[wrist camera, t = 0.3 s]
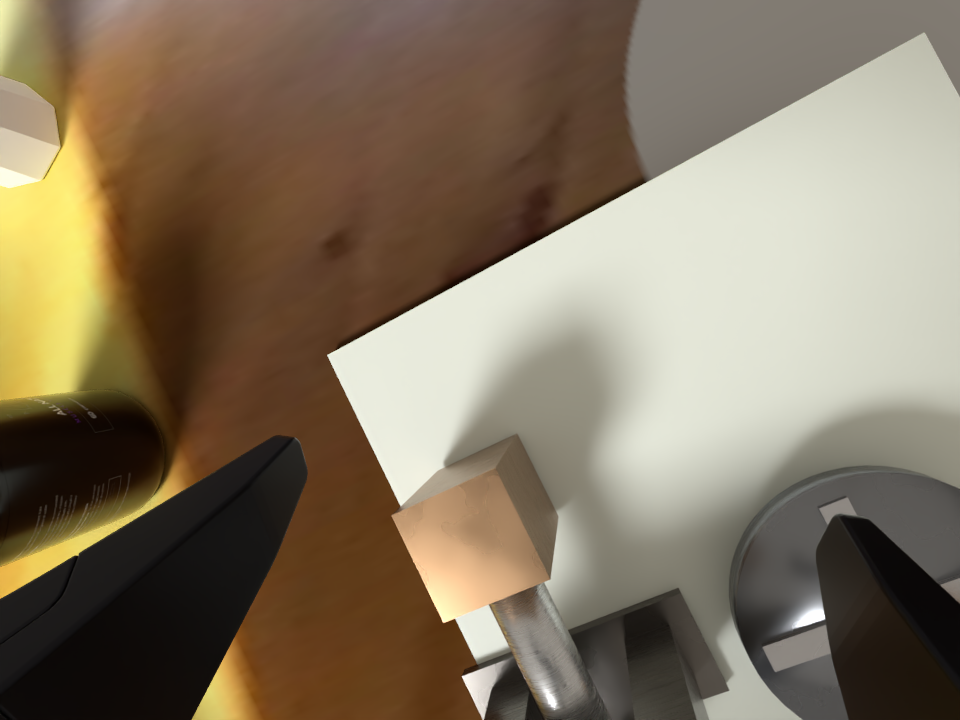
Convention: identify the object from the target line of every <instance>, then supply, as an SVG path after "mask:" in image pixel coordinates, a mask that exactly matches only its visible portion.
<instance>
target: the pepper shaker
mask: <svg viewBox="0 0 960 720" xmlns="http://www.w3.org/2000/svg"><path fill="white" fill-rule="evenodd" d="M60 148H61V145H60V139H59V133H58V126H57V120H56V113H55V108H54V107H53V106H52V105H51V104H50V103H48V102H47V101H46V100H45V99H43V98H42V97H41V96H40V95H39V94H37V93H36V92H35V91H34V90H32V89H31V88H30V87H29V86H27V85H26V84H24V83H21V82H18V81H15V80H12V79H9V78H6V77H3V76H0V185H1V186H4V187H7V188H11V187H15V186H20V185H24V184H28V183H33V182H37V181H41V180H43V179H44V177H45V175H46V173H47V171H48V170H49V168H50V166H51V164H52V162H53V161H54V159H55V157H56V155H57V153H58V152H59V150H60Z"/></svg>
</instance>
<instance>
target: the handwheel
mask: <svg viewBox="0 0 960 720" xmlns="http://www.w3.org/2000/svg"><path fill="white" fill-rule="evenodd" d="M837 513H843V514H850V515H858V516H863V517H866V518H868V519H869V520H871V521H872V522H873V523H874V524H875V525H876V526H877V527H879V528H880V529H881V530H882V531H883V532H884V533H885V534H886V535H887V536H888V537H889V538H890V539H891V540H892V541H894V542H895V543H896V544H897V545H898V546H899V547H900V548H901V549H902V550H903V551H904V552H905V553H906V554H908V555H909V556H910V557H911V558H912V559H913V560H914V561H915V562H916V563H917V564H918V565H919V566H920V567H921V568H923V569H924V570H925V571H926V572H927V573H928V574H929V575H930V576H931V577H932V578H933V579H934V580H935V581H937V582H938V583H939V584H940V585H941V586H942V587H943V588H944V589H945V590H946V591H947V592H948V593H949V594H951V595H952V596H953V597H954V598H955V599H956V600H957V601H958V602H959V603H960V489H959V488H957V487H955V486H952V485H950V484H948V483H945V482H943V481H940V480H938V479H935V478H933V477H930V476H928V475H925V474H922V473H918V472H914V471H911V470H907V469H902V468H895V467H888V466H869V465H864V466H852V467H843V468H839V469H834V470H829V471H825V472H822V473H819V474H816V475H813V476H810V477H808V478H806V479H804V480H802V481H799V482H797V483H795V484H793V485H791V486H790V487H788V488H787V489H785V490H784V491H782V492H781V493H779V494H778V495H776V496H775V497H774V498H773V499H772V500H770V501H769V502H768V503H767V504H766V505H765V506H764V507H763V508H762V509H761V510H760V511H759V512H758V513H757V514H756V516H755V517H754V518H753V519H752V521H751V522H750V524H749V525H748V527H747V528H746V530H745V531H744V532H743V535H742V537H741V539H740V541H739V543H738V545H737V547H736V550H735V553H734V556H733V560H732V563H731V569H730V575H729V602H730V610H731V614H732V618H733V622H734V625H735V629H736V631H737V633H738V636H739V638H740V640H741V643H742V645H743V647H744V649H745V651H746V653H747V655H748V657H749V659H750V661H751V663H752V664H753V666H754V668H755V669H756V671H757V673H758V674H759V676H760V678H761V679H762V680H763V682H764V683H765V684H766V686H767V687H768V688H769V689H770V691H771V692H772V693H773V694H774V695H775V696H776V697H777V698H778V699H779V700H780V701H781V702H782V703H783V704H784V705H785V706H786V707H787V708H788V709H790V710H791V711H792V712H793V713H795V714H796V715H797V716H798V717H800V718H801V719H803V720H848V716H847V713H846V709H845V705H844V702H843V698H842V695H841V691H840V687H839V684H838V680H837V677H836V673H835V669H834V665H833V661H832V657H831V652H830V646H829V641H828V635H827V629H826V622H825V616H824V610H823V603H822V597H821V591H820V585H819V578H818V572H817V566H816V556H815V554H816V548H817V545H818V543H819V541H820V539H821V537H822V535H823V533H824V531H825V529H826V527H827V526H828V524H829V522H830V520H831V518H832V517H833V516H834V515H835V514H837Z"/></svg>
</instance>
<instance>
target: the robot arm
mask: <svg viewBox="0 0 960 720" xmlns="http://www.w3.org/2000/svg"><path fill="white" fill-rule="evenodd" d="M307 474H308V472H307V466H306V462H305V458H304V455H303V451H302V448H301V444H300V442H299V440H298V439H297V438H295V437H288V436H281V435H276V436H273V437H271V438H270V439H268V440H266V441H265V442H263V443H261V444H260V445H258V446H256V447H255V448H253V449H251V450H250V451H248V452H246V453H245V454H243V455H241V456H240V457H238V458H236V459H235V460H233V461H231V462H230V463H228V464H226V465H225V466H223V467H221V468H220V469H218V470H216V471H215V472H213V473H211V474H210V475H208V476H206V477H205V478H203V479H201V480H200V481H198V482H196V483H195V484H193V485H191V486H190V487H188V488H186V489H185V490H183V491H181V492H180V493H178V494H176V495H175V496H173V497H171V498H170V499H168V500H166V501H165V502H163V503H162V504H160V505H158V506H157V507H155V508H153V509H152V510H150V511H148V512H147V513H145V514H143V515H142V516H140V517H138V518H137V519H135V520H133V521H132V522H130V523H128V524H127V525H125V526H123V527H122V528H120V529H118V530H117V531H115V532H113V533H112V534H110V535H108V536H107V537H105V538H103V539H102V540H100V541H98V542H97V543H95V544H93V545H92V546H90V547H88V548H87V549H85V550H83V551H82V552H80V553H79V555H78V556H73V557H71V558H70V559H68V560H66V561H65V562H63V563H62V564H60V565H58V566H57V567H55V568H53V569H52V570H50V571H48V572H46V573H45V574H43V575H41V576H40V577H38V578H36V579H34V580H33V581H31V582H29V583H27V584H26V585H24V586H22V587H21V588H19V589H17V590H15V591H14V592H12V593H10V594H8V595H6V596H5V597H3V598H1V599H0V720H192V718H193V716H194V714H195V712H196V710H197V708H198V706H199V704H200V702H201V700H202V698H203V697H204V695H205V693H206V691H207V689H208V687H209V685H210V683H211V681H212V679H213V677H214V675H215V673H216V672H217V670H218V668H219V666H220V664H221V662H222V660H223V658H224V656H225V654H226V652H227V650H228V649H229V647H230V645H231V643H232V641H233V639H234V637H235V635H236V633H237V631H238V629H239V627H240V626H241V624H242V622H243V620H244V618H245V616H246V614H247V612H248V610H249V608H250V606H251V604H252V602H253V601H254V599H255V597H256V595H257V593H258V591H259V589H260V587H261V585H262V583H263V581H264V579H265V578H266V576H267V574H268V572H269V570H270V568H271V566H272V564H273V562H274V560H275V558H276V556H277V553H278V551H279V549H280V546H281V544H282V542H283V539H284V536H285V534H286V531H287V529H288V526H289V524H290V521H291V519H292V516H293V514H294V511H295V508H296V506H297V503H298V501H299V498H300V496H301V493H302V491H303V488H304V486H305V483H306V480H307ZM815 556H816V566H817V572H818V578H819V585H820V591H821V597H822V603H823V610H824V616H825V622H826V629H827V635H828V641H829V646H830V652H831V657H832V661H833V665H834V669H835V673H836V677H837V680H838V684H839V687H840V691H841V695H842V698H843V702H844V705H845V709H846V713H847V716H848V720H960V603H959V602H958V601H957V600H956V599H955V598H954V597H953V596H952V595H951V594H949V593H948V592H947V591H946V590H945V589H944V588H943V587H942V586H941V585H940V584H939V583H938V582H937V581H935V580H934V579H933V578H932V577H931V576H930V575H929V574H928V573H927V572H926V571H925V570H924V569H923V568H921V567H920V566H919V565H918V564H917V563H916V562H915V561H914V560H913V559H912V558H911V557H910V556H909V555H908V554H906V553H905V552H904V551H903V550H902V549H901V548H900V547H899V546H898V545H897V544H896V543H895V542H894V541H892V540H891V539H890V538H889V537H888V536H887V535H886V534H885V533H884V532H883V531H882V530H881V529H880V528H879V527H877V526H876V525H875V524H874V523H873V522H872V521H871V520H869V519H868V518H866V517H863V516H858V515H850V514H843V513H837V514H835V515H834V516H833V517H832V518H831V520H830V522H829V524H828V526H827V527H826V529H825V531H824V533H823V535H822V537H821V539H820V541H819V543H818V545H817V548H816V554H815Z"/></svg>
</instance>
